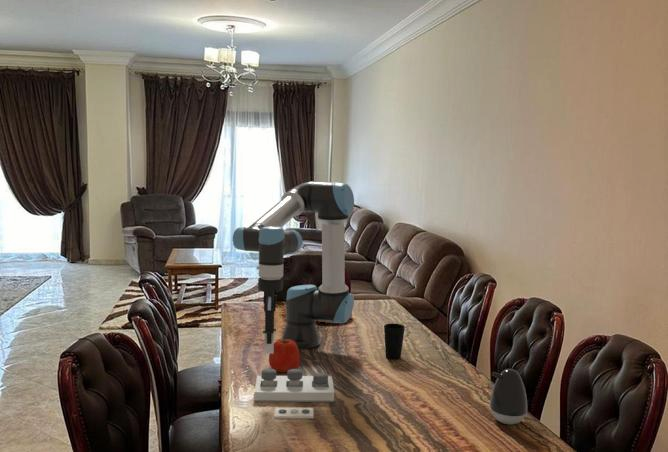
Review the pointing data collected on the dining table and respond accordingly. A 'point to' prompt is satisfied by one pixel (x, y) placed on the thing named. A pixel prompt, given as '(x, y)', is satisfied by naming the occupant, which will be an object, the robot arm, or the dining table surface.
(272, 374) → the button
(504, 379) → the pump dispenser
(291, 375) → the button
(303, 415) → the pattern card
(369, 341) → the dining table surface
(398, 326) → the cup
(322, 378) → the button
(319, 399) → the board
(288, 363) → the apple
